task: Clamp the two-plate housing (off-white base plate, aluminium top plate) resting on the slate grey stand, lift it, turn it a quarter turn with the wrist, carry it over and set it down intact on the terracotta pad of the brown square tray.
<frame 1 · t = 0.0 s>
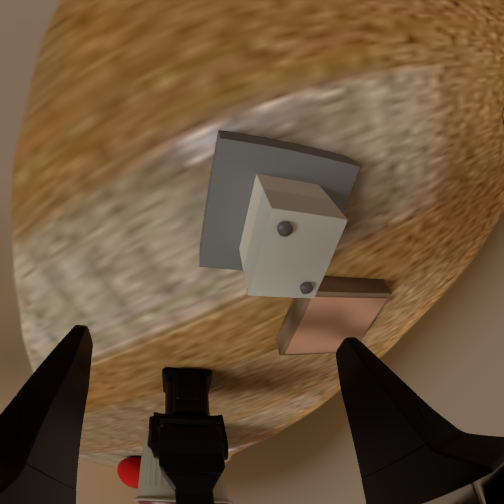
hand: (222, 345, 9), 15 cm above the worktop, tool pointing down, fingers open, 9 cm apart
canister: (178, 430, 49), on the worktop
tomato: (141, 458, 63), on the worktop
brown square tray: (329, 311, 32), on the worktop
two-plate housing: (277, 217, 21), point 2 cm above the worktop, touching slate stand
slate stand: (270, 202, 23), on the worktop
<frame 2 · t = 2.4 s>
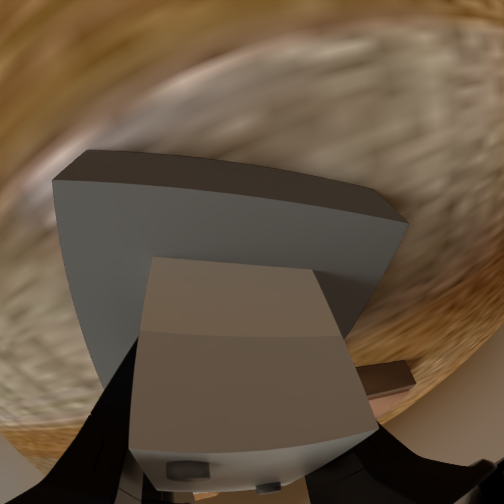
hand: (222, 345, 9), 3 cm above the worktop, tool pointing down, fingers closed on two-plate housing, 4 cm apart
canister: (154, 479, 38), on the worktop
brown square tray: (325, 401, 21), on the worktop
two-plate housing: (221, 333, 10), point 2 cm above the worktop, touching gripper, slate stand
slate stand: (216, 284, 12), on the worktop
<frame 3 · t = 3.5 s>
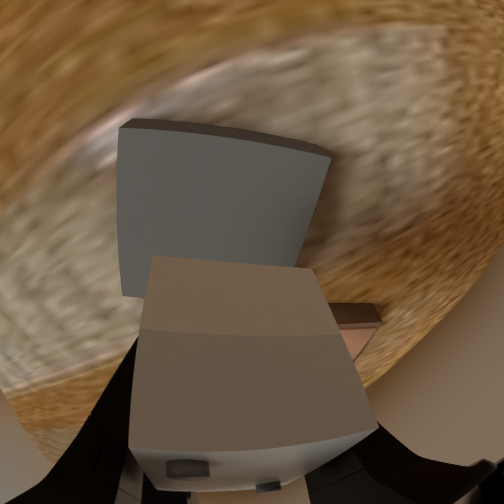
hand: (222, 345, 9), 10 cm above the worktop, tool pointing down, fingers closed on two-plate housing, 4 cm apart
brown square tray: (304, 341, 26), on the worktop
two-plate housing: (220, 332, 10), point 9 cm above the worktop, touching gripper
slate stand: (211, 210, 17), on the worktop
when the fingers open (4 cm above the worktop, at t = 7.6 s): two-plate housing drops 1 cm, resting on brown square tray.
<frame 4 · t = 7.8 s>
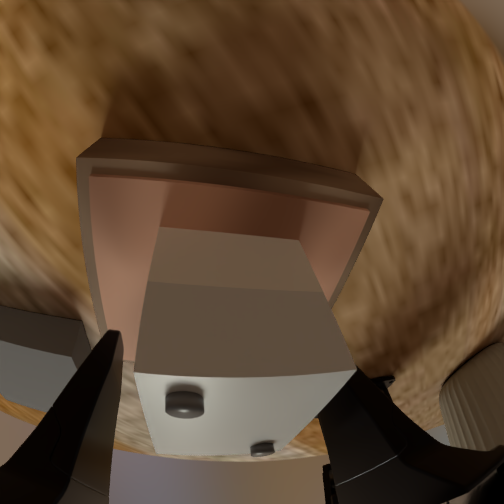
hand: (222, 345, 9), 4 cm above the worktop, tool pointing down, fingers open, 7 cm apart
canister: (470, 365, 31), on the worktop
brown square tray: (214, 261, 13), on the worktop
two-plate housing: (218, 301, 11), point 2 cm above the worktop, touching brown square tray
slate stand: (37, 356, 15), on the worktop
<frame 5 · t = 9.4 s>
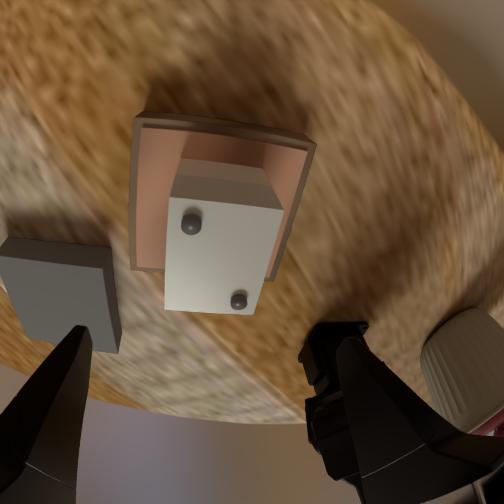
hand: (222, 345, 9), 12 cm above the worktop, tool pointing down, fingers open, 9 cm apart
canister: (449, 332, 37), on the worktop
brown square tray: (212, 194, 19), on the worktop
two-plate housing: (213, 211, 17), point 2 cm above the worktop, touching brown square tray
slate stand: (64, 289, 21), on the worktop
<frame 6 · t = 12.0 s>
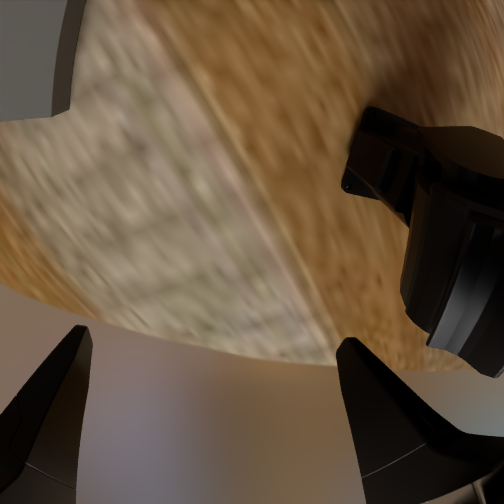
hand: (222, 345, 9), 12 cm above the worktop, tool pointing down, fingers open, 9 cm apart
slate stand: (17, 45, 10), on the worktop
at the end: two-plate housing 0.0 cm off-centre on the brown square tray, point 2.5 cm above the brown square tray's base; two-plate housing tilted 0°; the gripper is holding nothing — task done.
